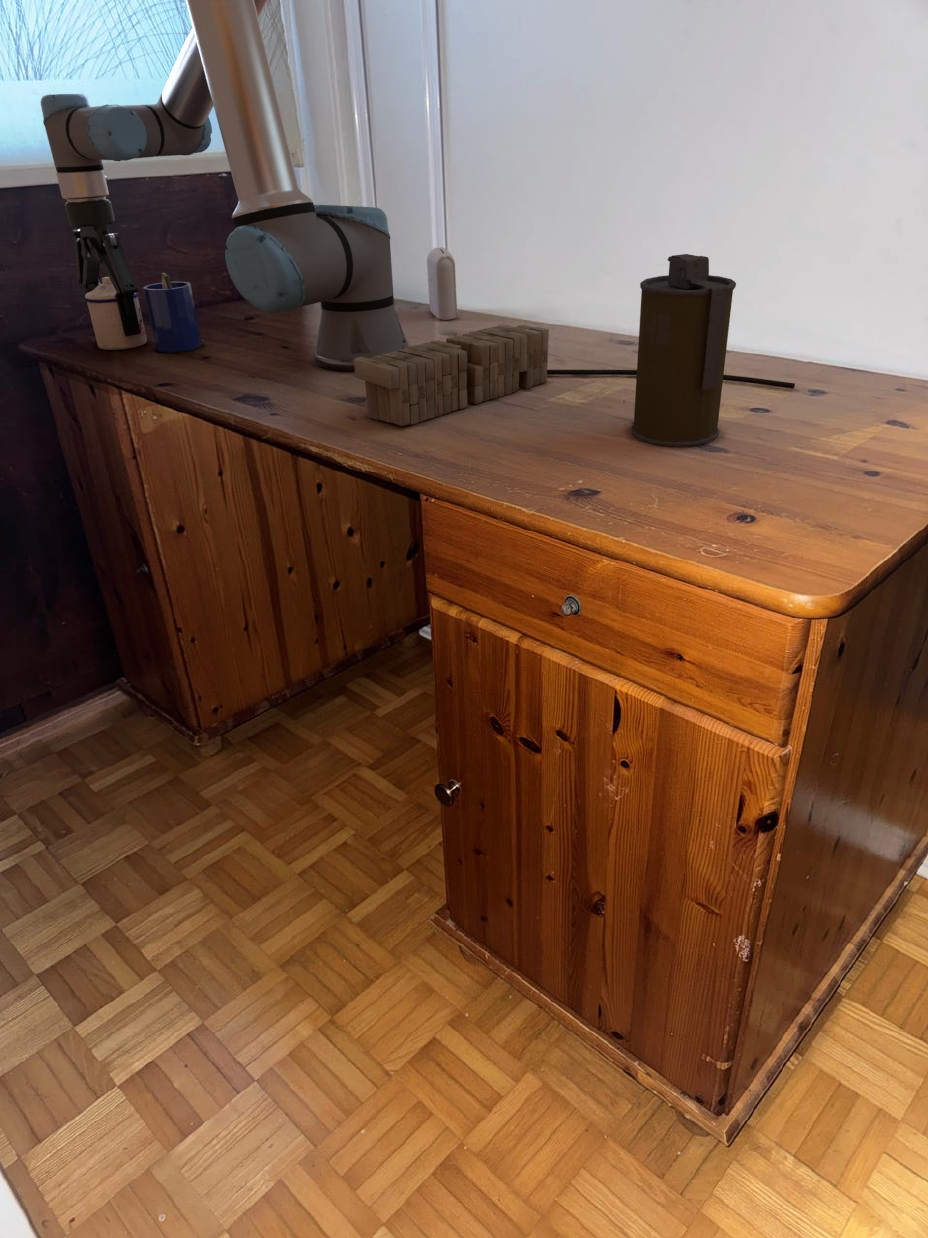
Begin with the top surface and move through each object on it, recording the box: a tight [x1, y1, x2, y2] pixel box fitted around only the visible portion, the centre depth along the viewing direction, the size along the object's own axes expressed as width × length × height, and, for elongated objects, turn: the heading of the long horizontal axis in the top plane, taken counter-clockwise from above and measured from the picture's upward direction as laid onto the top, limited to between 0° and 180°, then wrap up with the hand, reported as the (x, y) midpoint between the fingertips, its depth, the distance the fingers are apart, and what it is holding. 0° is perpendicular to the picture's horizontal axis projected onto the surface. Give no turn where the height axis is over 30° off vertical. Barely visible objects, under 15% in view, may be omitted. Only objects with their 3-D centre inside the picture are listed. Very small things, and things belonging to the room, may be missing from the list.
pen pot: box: [143, 281, 202, 354], centre depth 153 cm, size 8×8×10 cm
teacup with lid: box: [84, 276, 148, 351], centre depth 157 cm, size 12×9×12 cm
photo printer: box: [426, 246, 458, 321], centre depth 168 cm, size 10×4×12 cm, turn 13°
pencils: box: [161, 272, 172, 289], centre depth 153 cm, size 2×3×12 cm
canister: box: [630, 253, 737, 448], centre depth 101 cm, size 11×10×20 cm
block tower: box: [354, 323, 550, 427], centre depth 119 cm, size 8×8×29 cm
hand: (117, 330), depth 159 cm, fingers closed on teacup with lid, 12 cm apart
